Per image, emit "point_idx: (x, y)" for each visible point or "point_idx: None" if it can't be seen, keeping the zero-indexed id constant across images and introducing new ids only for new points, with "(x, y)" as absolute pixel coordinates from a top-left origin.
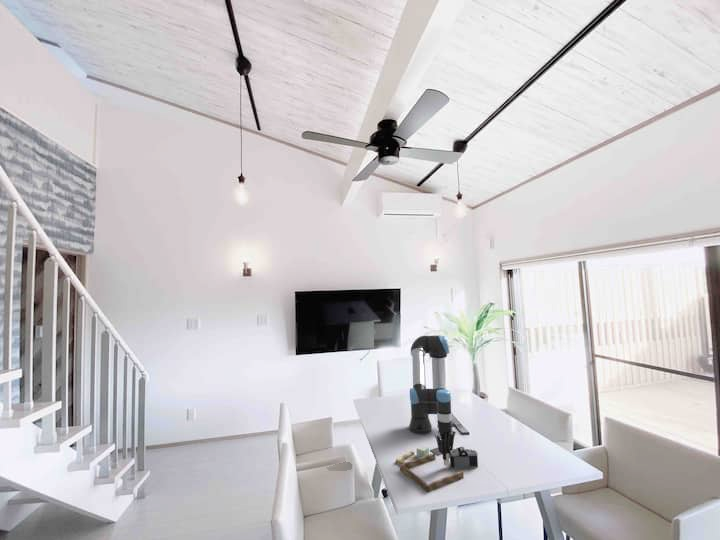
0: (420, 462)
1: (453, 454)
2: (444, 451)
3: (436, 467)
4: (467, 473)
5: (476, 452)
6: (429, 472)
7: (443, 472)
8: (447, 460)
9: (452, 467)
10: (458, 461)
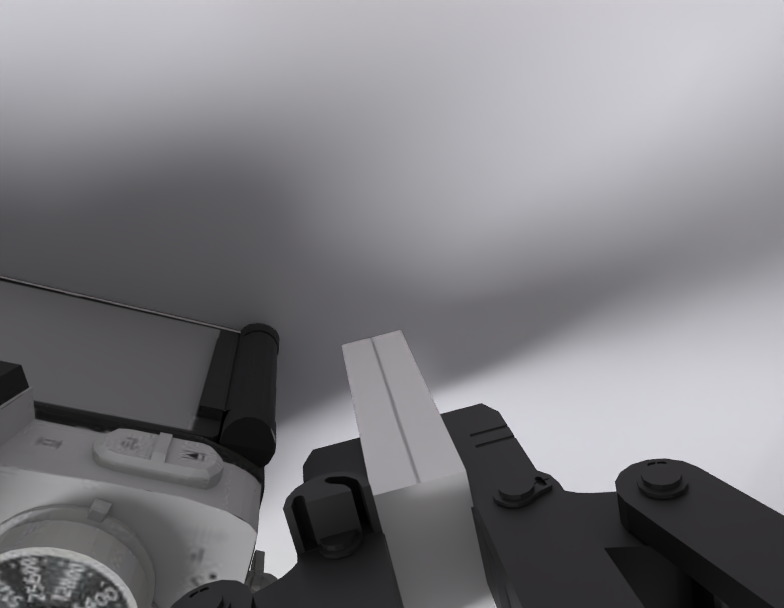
0: None
1: (187, 473)
2: (586, 530)
3: (541, 442)
4: (22, 48)
5: None
6: (746, 326)
7: (512, 251)
8: (409, 387)
9: (267, 327)
10: (82, 355)
